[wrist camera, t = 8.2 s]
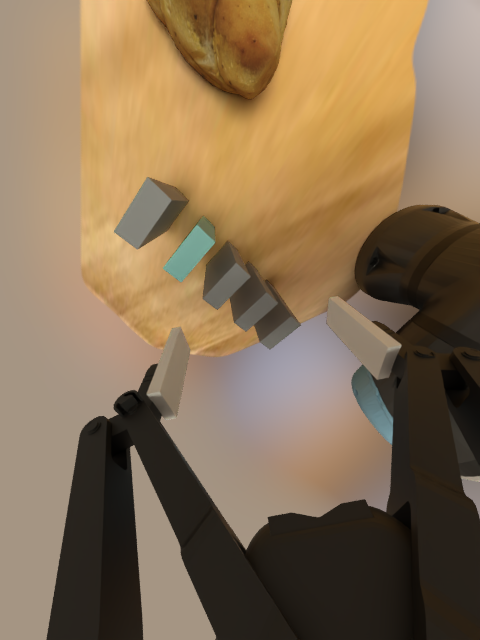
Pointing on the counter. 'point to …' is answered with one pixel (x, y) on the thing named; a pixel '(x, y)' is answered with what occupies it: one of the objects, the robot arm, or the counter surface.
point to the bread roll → (228, 39)
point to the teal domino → (191, 250)
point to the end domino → (150, 213)
